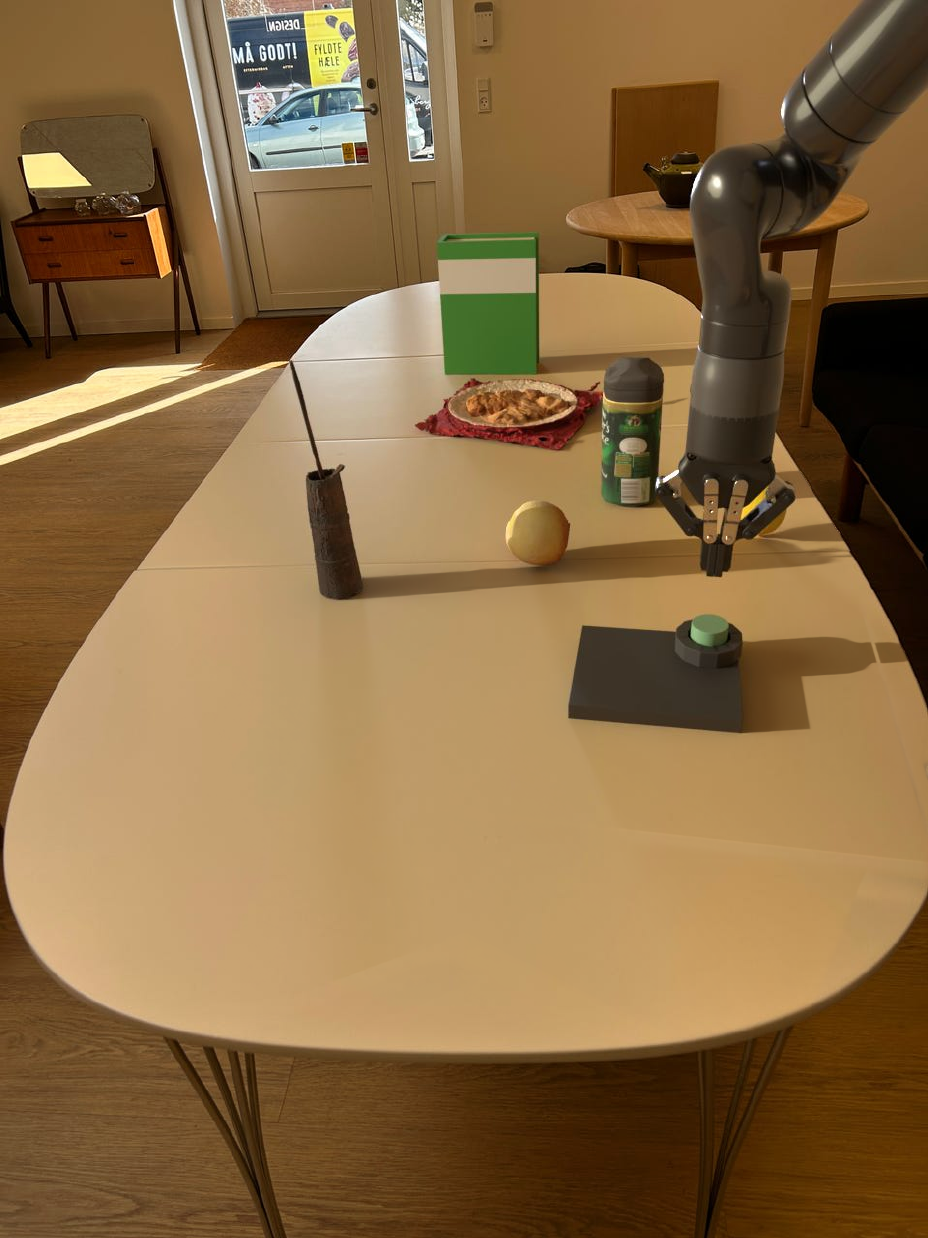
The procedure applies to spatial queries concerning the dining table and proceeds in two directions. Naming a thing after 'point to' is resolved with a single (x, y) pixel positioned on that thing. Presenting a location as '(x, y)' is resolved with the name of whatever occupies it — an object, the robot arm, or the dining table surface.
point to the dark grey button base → (657, 679)
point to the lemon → (773, 524)
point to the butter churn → (329, 523)
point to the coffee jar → (631, 431)
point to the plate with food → (513, 412)
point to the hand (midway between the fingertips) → (714, 572)
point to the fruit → (538, 533)
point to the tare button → (709, 630)
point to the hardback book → (489, 302)
